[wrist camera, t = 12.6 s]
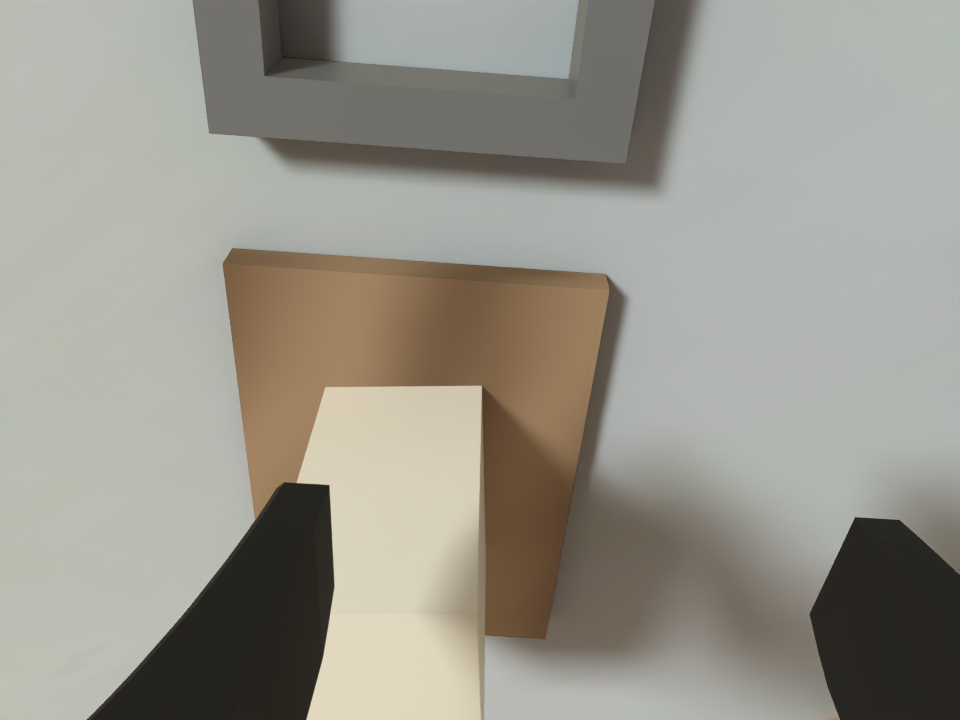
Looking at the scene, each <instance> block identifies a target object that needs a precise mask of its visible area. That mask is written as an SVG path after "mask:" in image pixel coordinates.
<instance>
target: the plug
mask: <svg viewBox="0 0 960 720" xmlns="http://www.w3.org/2000/svg"><path fill="white" fill-rule="evenodd" d="M297 483H305V484H322V485H330V505H331V525H332V545H333V565H334V584H335V587H334V593H333V600H332V606H331V613H330V619H329V625H328V631H327V637H326V643H325V649H324V655H323V660H322V664H321V667H320V671H319V675H318V679H317V682H316V686H315V690H314V694H313V697H312V701H311V705H310V708H309V712H308V716H307V719H306V720H484V679H485V589H486V532H485V492H484V452H483V413H482V386H396V387H325V390H324V393H323V397H322V400H321V403H320V407H319V410H318V413H317V417H316V420H315V423H314V427H313V430H312V433H311V437H310V440H309V443H308V446H307V450H306V453H305V456H304V460H303V463H302V466H301V470H300V473H299V476H298V480H297Z"/></svg>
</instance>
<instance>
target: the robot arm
mask: <svg viewBox="0 0 960 720" xmlns="http://www.w3.org/2000/svg"><path fill="white" fill-rule="evenodd" d="M334 587H335V584H334V565H333V545H332V525H331V505H330V485H322V484H305V483H289V482H284V483H283V484H281V485H280V486H279V487H277V488H276V490H275V491H274V493H273V494H272V496H271V497H270V499H269V501H268V502H267V504H266V505H265V507H264V508H263V510H262V511H261V513H260V514H259V516H258V517H257V519H256V520H255V521H254V523H253V524H252V526H251V527H250V529H249V530H248V531H247V533H246V534H245V536H244V537H243V538H242V540H241V541H240V542H239V544H238V545H237V547H236V548H235V549H234V551H233V552H232V553H231V555H230V556H229V557H228V559H227V560H226V561H225V563H224V564H223V565H222V567H221V568H220V569H219V570H218V572H217V573H216V574H215V575H214V577H213V578H212V579H211V580H210V582H209V583H208V584H207V586H206V587H205V588H204V589H203V591H202V592H201V593H200V594H199V596H198V597H197V598H196V599H195V601H194V602H193V603H192V605H191V606H190V607H189V608H188V609H187V611H186V612H185V613H184V614H183V615H182V617H181V618H180V619H179V620H178V621H177V622H176V624H175V625H174V626H173V627H172V628H171V629H170V630H169V632H168V633H167V634H166V635H165V636H164V637H163V638H162V640H161V641H160V642H159V643H158V644H157V645H156V646H155V648H154V649H153V650H152V651H151V652H150V653H149V654H148V656H147V657H146V658H145V659H144V660H143V661H142V662H141V663H140V665H139V666H138V667H137V668H136V669H135V670H134V671H133V672H132V673H131V675H130V676H129V677H128V678H127V679H126V680H125V681H124V682H123V683H122V684H121V685H120V686H119V687H118V688H117V689H116V690H115V692H114V693H113V694H112V695H111V696H110V697H109V698H108V699H107V700H106V701H105V702H104V703H103V704H102V705H101V706H100V707H99V708H98V709H97V710H96V711H95V712H94V713H93V714H92V715H91V716H90V717H89V718H88V719H87V720H306V719H307V716H308V712H309V708H310V705H311V701H312V697H313V694H314V690H315V686H316V682H317V679H318V675H319V671H320V667H321V664H322V660H323V655H324V649H325V643H326V637H327V631H328V625H329V619H330V613H331V606H332V600H333V593H334ZM810 618H811V622H812V626H813V630H814V635H815V639H816V643H817V648H818V652H819V656H820V660H821V663H822V667H823V671H824V674H825V678H826V682H827V686H828V689H829V691H830V694H831V697H832V699H833V702H834V705H835V707H836V710H837V712H838V715H839V718H840V720H960V575H959V574H958V573H957V572H956V571H955V570H954V569H953V568H952V567H950V566H949V565H948V564H947V563H946V562H945V561H944V560H943V559H942V558H941V557H940V556H939V555H938V554H937V553H935V552H934V551H933V550H932V549H931V548H930V547H929V546H928V545H927V544H926V543H925V542H923V541H922V540H921V539H920V538H919V537H918V536H917V535H916V534H915V533H913V532H912V531H911V530H910V529H909V528H908V527H907V526H905V525H904V524H903V523H902V522H901V521H900V520H889V519H873V518H857V517H855V519H854V521H853V523H852V525H851V528H850V530H849V532H848V534H847V536H846V538H845V540H844V542H843V544H842V547H841V549H840V551H839V553H838V555H837V557H836V559H835V561H834V564H833V566H832V568H831V570H830V572H829V574H828V576H827V578H826V580H825V583H824V585H823V587H822V589H821V591H820V593H819V595H818V597H817V600H816V602H815V604H814V606H813V608H812V610H811V612H810Z"/></svg>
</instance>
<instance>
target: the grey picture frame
mask: <svg viewBox="0 0 960 720" xmlns="http://www.w3.org/2000/svg"><path fill="white" fill-rule="evenodd" d="M654 3H655V0H579V5H578V13H577V21H576V28H575V36H574V44H573V51H572V59H571V67H570V74H569V79H558V78H545V77H532V76H519V75H506V74H492V73H479V72H466V71H453V70H440V69H427V68H414V67H401V66H387V65H374V64H361V63H348V62H335V61H322V60H309V59H295V58H282V52H281V37H280V23H279V8H278V0H193V7H194V15H195V23H196V31H197V39H198V47H199V55H200V63H201V71H202V79H203V87H204V95H205V103H206V111H207V119H208V128H209V133H211V134H224V135H238V136H252V137H265V138H279V139H292V140H306V141H320V142H333V143H347V144H361V145H374V146H388V147H401V148H415V149H429V150H442V151H456V152H470V153H483V154H497V155H510V156H524V157H538V158H551V159H565V160H579V161H592V162H606V163H620V164H626V159H627V153H628V148H629V142H630V137H631V131H632V125H633V120H634V114H635V109H636V103H637V98H638V92H639V86H640V81H641V75H642V70H643V64H644V59H645V53H646V48H647V42H648V36H649V31H650V25H651V20H652V14H653V9H654Z"/></svg>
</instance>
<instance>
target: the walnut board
mask: <svg viewBox="0 0 960 720" xmlns="http://www.w3.org/2000/svg"><path fill="white" fill-rule="evenodd" d="M223 270H224V277H225V285H226V293H227V301H228V309H229V317H230V325H231V333H232V341H233V349H234V357H235V364H236V372H237V380H238V388H239V396H240V404H241V412H242V420H243V428H244V436H245V444H246V451H247V459H248V467H249V475H250V483H251V491H252V499H253V507H254V515H255V520H256V519H257V517H258V516H259V514H260V513H261V511H262V510H263V508H264V507H265V505H266V504H267V502H268V501H269V499H270V497H271V496H272V494H273V493H274V491H275V490H276V488H277V487H279V486H280V485H281V484H283V483H284V482H289V483H297V480H298V476H299V473H300V470H301V466H302V463H303V460H304V456H305V453H306V450H307V446H308V443H309V440H310V437H311V433H312V430H313V427H314V423H315V420H316V417H317V413H318V410H319V407H320V403H321V400H322V397H323V393H324V390H325V387H396V386H482V413H483V452H484V492H485V532H486V589H485V635H487V636H505V637H522V638H540V639H545V637H546V632H547V626H548V621H549V615H550V610H551V605H552V599H553V594H554V588H555V583H556V578H557V572H558V567H559V561H560V556H561V551H562V545H563V540H564V534H565V529H566V524H567V518H568V513H569V507H570V502H571V497H572V491H573V486H574V480H575V475H576V470H577V464H578V459H579V453H580V448H581V443H582V437H583V432H584V426H585V421H586V416H587V410H588V405H589V399H590V394H591V389H592V383H593V378H594V372H595V367H596V362H597V356H598V351H599V345H600V340H601V335H602V329H603V324H604V318H605V313H606V308H607V302H608V297H609V291H610V290H609V286H608V282H607V278H606V274H595V273H580V272H566V271H551V270H537V269H523V268H508V267H494V266H479V265H465V264H451V263H436V262H422V261H408V260H393V259H379V258H364V257H350V256H336V255H321V254H307V253H292V252H278V251H264V250H249V249H235V248H232V250H231V251H230V253H229V254H228V256H227V258H226V259H225V261H224V262H223Z"/></svg>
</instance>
